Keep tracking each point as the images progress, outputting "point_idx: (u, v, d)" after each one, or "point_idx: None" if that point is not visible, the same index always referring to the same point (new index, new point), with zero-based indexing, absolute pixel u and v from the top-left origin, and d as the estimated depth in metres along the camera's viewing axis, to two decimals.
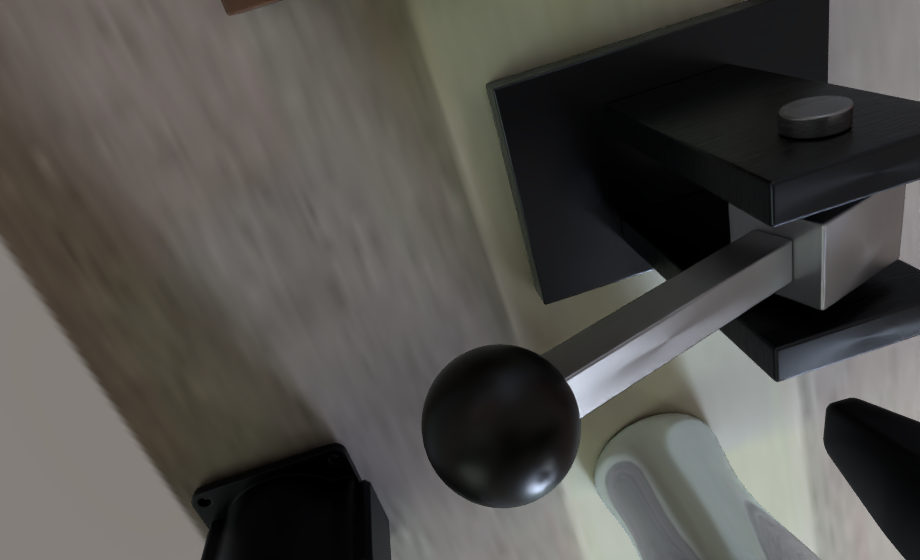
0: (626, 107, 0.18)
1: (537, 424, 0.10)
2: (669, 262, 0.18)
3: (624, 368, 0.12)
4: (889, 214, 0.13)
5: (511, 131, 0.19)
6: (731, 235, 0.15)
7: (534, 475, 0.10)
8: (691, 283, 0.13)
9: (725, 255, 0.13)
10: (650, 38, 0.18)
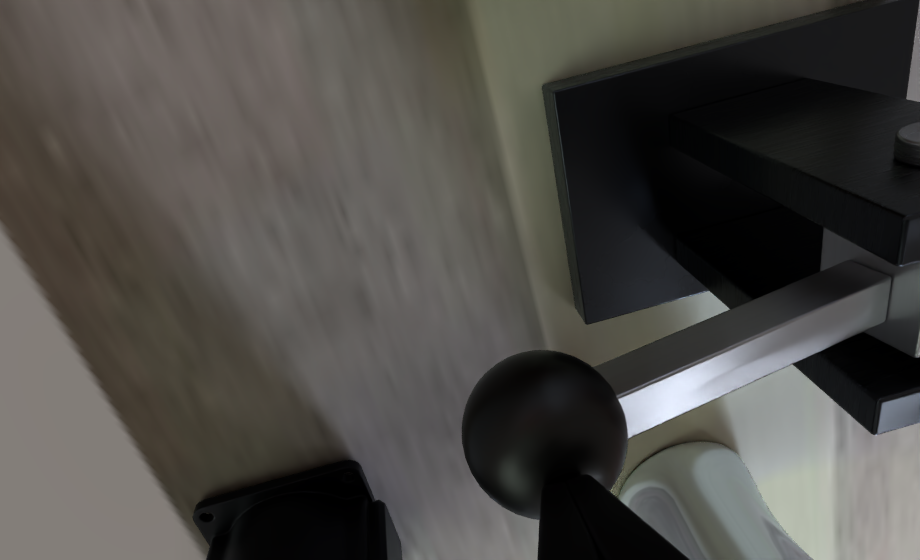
0: (697, 118, 0.17)
1: (580, 442, 0.10)
2: (737, 290, 0.16)
3: (682, 393, 0.11)
4: None
5: (568, 138, 0.17)
6: (822, 262, 0.13)
7: None
8: (769, 311, 0.12)
9: (811, 284, 0.12)
10: (725, 45, 0.17)
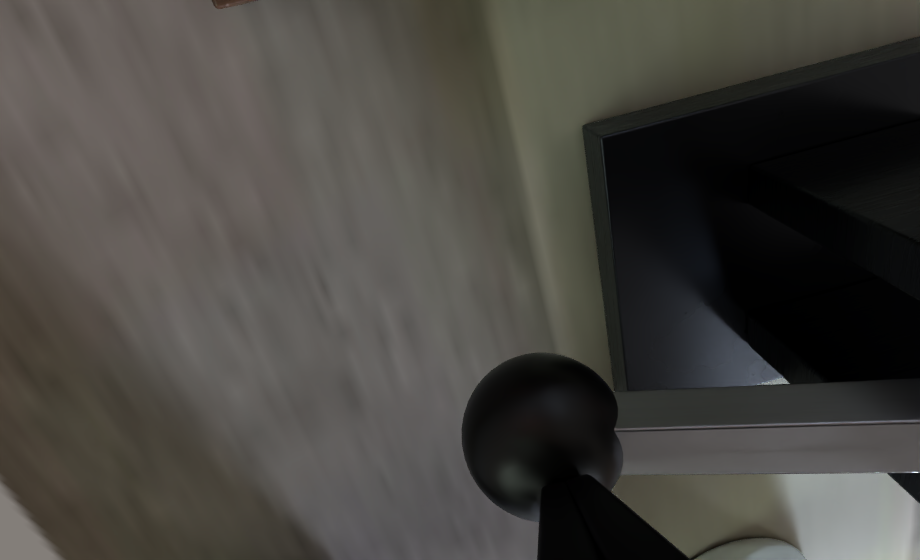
0: (793, 174, 0.12)
1: (541, 457, 0.10)
2: None
3: (700, 452, 0.10)
4: None
5: (618, 196, 0.13)
6: None
7: (522, 500, 0.10)
8: (858, 401, 0.09)
9: None
10: (827, 75, 0.13)
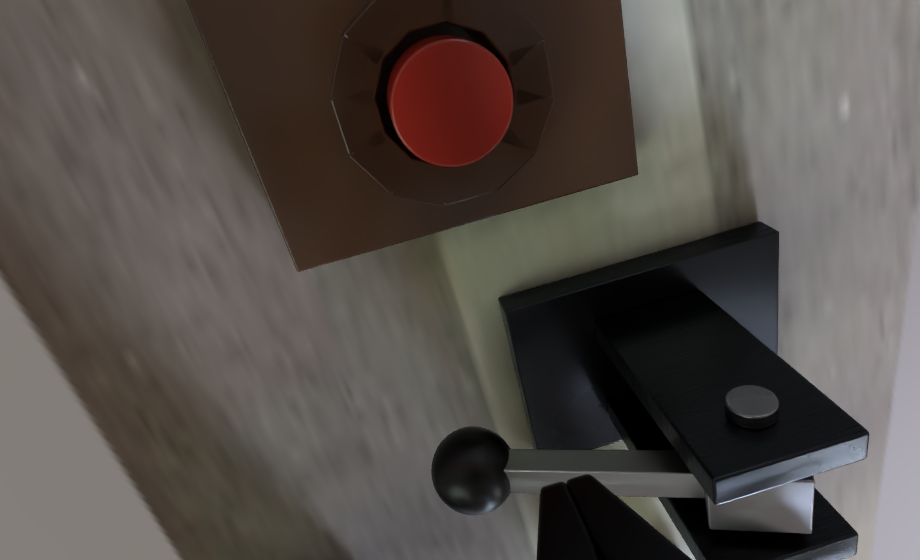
0: (612, 331, 0.22)
1: (465, 483, 0.20)
2: None
3: (545, 483, 0.20)
4: (791, 500, 0.17)
5: (518, 340, 0.23)
6: None
7: (457, 503, 0.20)
8: (618, 461, 0.19)
9: (658, 456, 0.19)
10: (633, 272, 0.23)
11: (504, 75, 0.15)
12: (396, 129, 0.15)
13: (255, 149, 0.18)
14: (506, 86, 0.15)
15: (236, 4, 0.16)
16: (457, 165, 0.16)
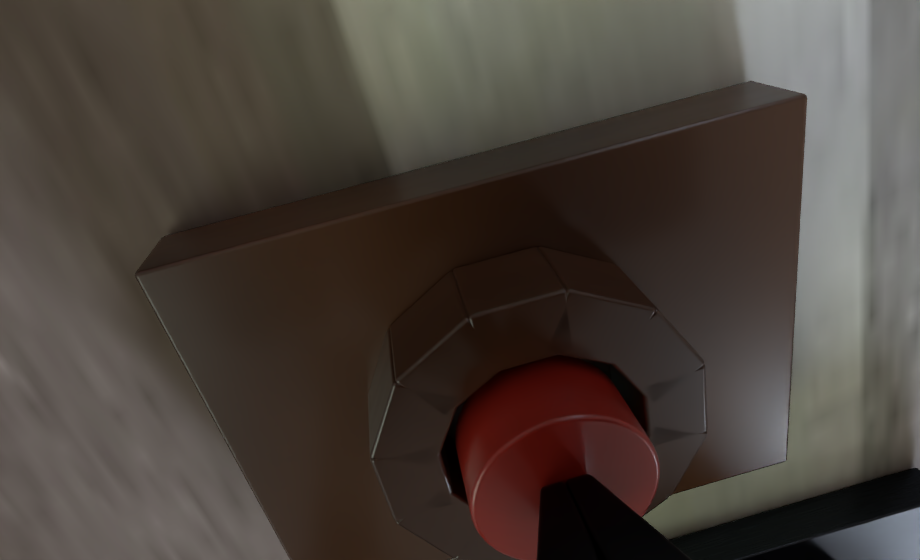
0: None
1: None
2: None
3: None
4: None
5: None
6: None
7: None
8: None
9: None
10: (757, 550, 0.17)
11: (651, 453, 0.09)
12: (477, 528, 0.10)
13: (254, 473, 0.12)
14: (651, 465, 0.10)
15: (226, 303, 0.10)
16: None
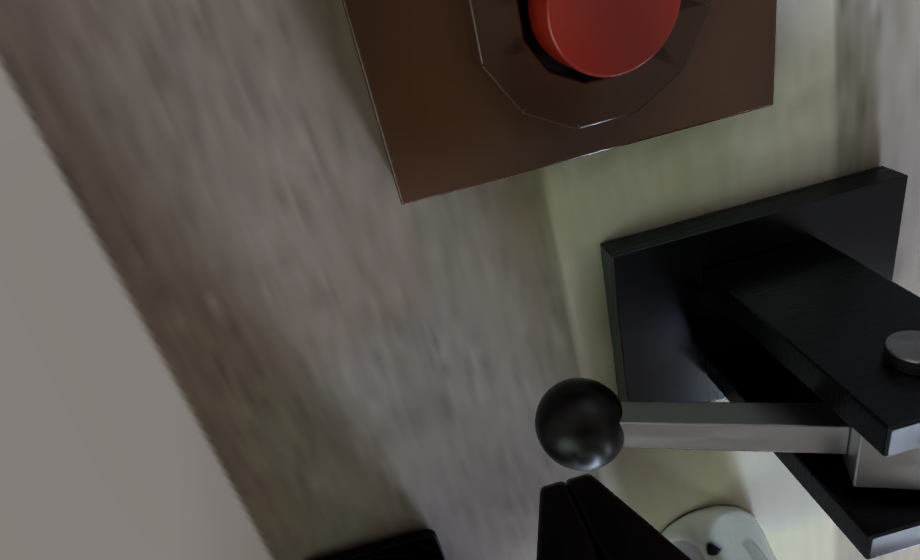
0: (728, 279, 0.21)
1: (579, 435, 0.18)
2: None
3: (665, 436, 0.18)
4: None
5: (622, 289, 0.21)
6: None
7: (569, 457, 0.19)
8: (748, 413, 0.18)
9: (794, 409, 0.18)
10: (750, 217, 0.21)
11: None
12: (550, 30, 0.13)
13: (369, 62, 0.16)
14: None
15: None
16: (611, 75, 0.14)
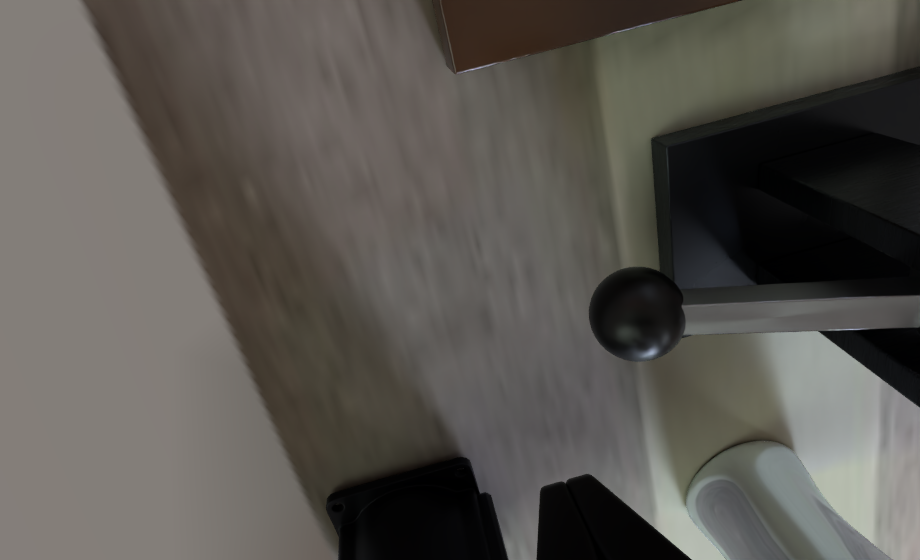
0: (787, 169, 0.20)
1: (641, 316, 0.17)
2: None
3: (730, 319, 0.18)
4: None
5: (675, 183, 0.21)
6: (912, 275, 0.17)
7: (629, 341, 0.18)
8: (820, 290, 0.17)
9: (869, 283, 0.17)
10: (808, 107, 0.20)
11: None
12: None
13: None
14: None
15: None
16: None
